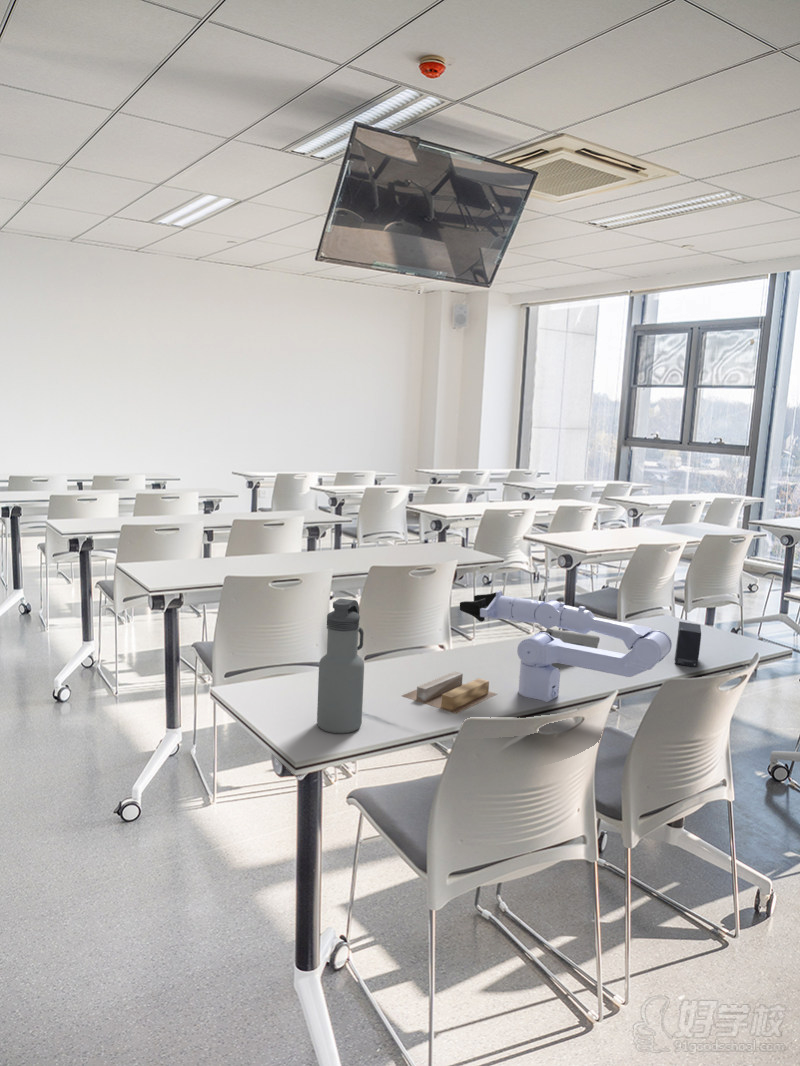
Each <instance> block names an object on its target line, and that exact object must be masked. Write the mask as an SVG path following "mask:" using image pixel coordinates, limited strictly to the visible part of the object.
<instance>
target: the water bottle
mask: <svg viewBox="0 0 800 1066" xmlns="http://www.w3.org/2000/svg"><path fill="white" fill-rule="evenodd" d="M332 609H334V610H332V611H330V612H328V613H327V615H326V629H327V644H326V654H324V655H323V656H322V657H321V658H320V659H319V662H318V663H319V664H318V682H317V685H318V686H317V709H316V710H317V712H316V723H317V726H318V727H319V728H320V729H322V731H325V732H327V733H332V734H348V733H352V732H355V731H357V730H358V729H360V728H361V725H362V723H363V701H364V680H365V679H364V678H365V676H364V675H365V662H364V660H363V658H362V657H361V656H359V655H358V651H360V650H361V649H362V648H363V647H364V633H365V632H364V630H363V628H362V627H360V619H361V616H360V606H359V603H358V601H357V600H356V599H349V598H338V599H336V600H335V601H333V602H332ZM358 642H359V645H358Z"/></svg>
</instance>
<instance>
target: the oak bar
mask: <svg viewBox="0 0 800 1066" xmlns="http://www.w3.org/2000/svg"><path fill="white" fill-rule="evenodd" d="M464 684H465V685H462V686H460V687H458V688H455V689H453V690H451V691H448V692H446V693H444V694H442V702H441V707H444V708H447V709H450V710H453V709H455V708H457V707H459V706H462V705H464V704H466V703H468V702H470V701H472V700H474V699H476V698H479V697H481V696H483V695H485V694H487V693H488V692H490V690H489V689H490V688H489V687H490V681H489V680H487V679H482V678H475V679H474V680H471V681H469V682H468V683H464Z"/></svg>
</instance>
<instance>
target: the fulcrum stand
mask: <svg viewBox="0 0 800 1066" xmlns="http://www.w3.org/2000/svg"><path fill="white" fill-rule="evenodd" d="M465 684H466V683H463V673H461V672H460V671H459V672H458V671H451V672H450V673H448V674H445V675H443V676H440V677H438V678H435V679H432V680H430V681H428V682H426V683H422V684H420V685H418V686H417V687H416V689H414V690H412V691H409V692H406V693H404V694H403V695H401V697H403V698H407V699H409V700H412V701H416V702H418V703H419V702H420V703H423V704H425V705H428V706H432V707H435V708H437V709H442V710H444V711H447V712H450V713H454V714H459V713H461V712H463V711H465V710H467V709H469V708H471V707H474V706H476V705H478V704H480V703H482V702H485V701H486V700H488V699H490V698H492V697H494V696H497V695H498V693H495V692H492V691H489V692H488V693H487V694H485V695H483V696H481V697H479V698H476V699H474V700H472V701H470V702H468V703H466V704H464V705H462V706H459V707H457V708H455V709H453V710H450V709H447V708H444V707H441V702H442V694H444V693H446V692H448V691H451V690H453V689H455V688H458V687H460V686H462V685H465Z"/></svg>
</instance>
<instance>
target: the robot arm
mask: <svg viewBox="0 0 800 1066" xmlns="http://www.w3.org/2000/svg"><path fill="white" fill-rule="evenodd" d="M459 611H460V612H463V613H466V614H468V615H471V616H472V617H474V618H475V619H476V620H478V621H479V622H481V623H482V622H484V621H485V618H487V619H488V618H491V619H496V620H500V619H501V620H507V621H516V622H524V623H529V624H538V625H539V626H540V627H543V628H544V629H548V628H550V629H553V628H554V627H557V628H559V629H560V630H561V629H562V630H565V631H569V632H576V633H582V634H588V633H590V632H595V633H598V634H602V635H604V636H608V637H612V638H615V639H619V640H620V641H623V644H624V645H625V646H626V648H627V650H628V651H629V652H627V653H624V652H623V653H622V652H617V651H612V650H607V649H601V648H597V649H596V648H591V647H586V646H580V645H575V644H570V643H564V642H562V641H561V640H560V639H558V638H554V637H552V636H551V635H549V634H548V633H545V632H540V631H538V632H537V633H535V634H534V635H532V636H530V637H529V638H526V639H524V640H522V641H520V643H518V646H517V649H516V651H517V652H516V653H517V656H518V658H519V659H520V663H519V665H520V666H519V677H518V678H519V679H518V694H519V695H521V697H522V696H523V697H526V698H529V699H536V700H538V701H542V702H546V703H548V702H550V701H552V700H553V699H556V698H557V697H559V692H560V691H559V690H560V681H561V680H560V679H561V673H560V672H561V671H560V669H559V668H558V667H556V666H554V665H553V664H562V665H566V666H571V667H576V668H582V669H585V670H591V671H595V672H596V671H597V672H602V673H605V674H611V675H616V676H622V677H625V678H632V677H635V676H637V675H639V674H641V673H643V672H647V671H650V670H652V669H653V668H654V667H655V666H656V665H657V664H658V663H660V662H661V661H662V660H663V659H664V658H665V657H667V655H668V654H669V653H670V652H671V650H672V647H673V644H672V643H673V642H672V639H671V638H670V636H669V635H668V634H667V633H666V632H665V631H663V630H658V629H653V628H651V627H650V626H644V625H640V624H639V625H638V624H634V623H627V622H622V621H617V620H612V619H606V618H602V617H596V616H595V615H594V614H593V612H592V611H591V610H588V609H586V606H582V605H580V606H578V607H575V606H572V605H566V602H562V601H561V602H559V601H558V600H556V599H549V600H548V601H545V600H544V601H542V600H536V599H530V598H523V597H522V598H521V597H515V596H508V595H507V596H506V595H503V591H502V590H498V591H496V592H493V593H483V594H475V595H473V600H471V601H469V600H468V601H467V600H465V601H460V602H459Z"/></svg>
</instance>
